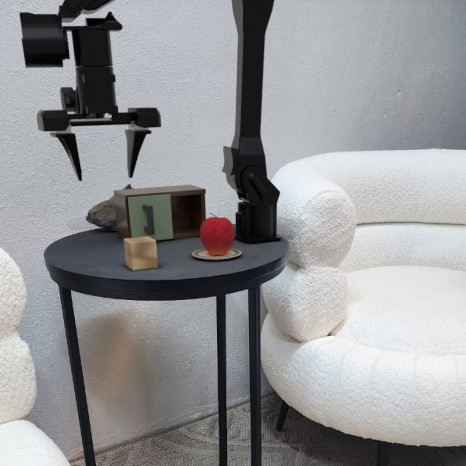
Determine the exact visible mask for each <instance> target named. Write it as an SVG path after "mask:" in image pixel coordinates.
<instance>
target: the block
mask: <svg viewBox="0 0 466 466" xmlns="http://www.w3.org/2000/svg"><path fill="white" fill-rule="evenodd" d="M123 248H124V258H125V259H124V260H125V266H126V267H128V268H129V269H131V270H132V271H141V270H149V269H157V268H159V262H158V261H159V260H158V250H157V249H158V248H157V241H156V240H154V239H152V238H150V237H148V236H146V237H136V238H126V239H124V240H123Z"/></svg>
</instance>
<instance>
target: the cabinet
mask: <svg viewBox="0 0 466 466" xmlns="http://www.w3.org/2000/svg"><path fill="white" fill-rule="evenodd" d="M112 192H113V195H114V201H115V211H116V220H117V230H118V231H117V237H119V238H120V239H121V240H123V241H124V239H126V238H132V237H131V226H130V215H129V204H128V197H138V196H151V195H164V194H170V197H171V213H172V229H173V239H164V240H163V241H168V240H171V241H172V240H180V239H190V238H200V228H201V225H202V223H203V222H204V221H205V220H206V219H207V208H206V206H207V205H206V194H207V190H206V188H204V187H200V186H196V185H193V184H181V185H165V186H152V187H140V188H134V189H125V190H122V189H113V191H112ZM158 241H159V242H161V241H162V240H156V242H158Z"/></svg>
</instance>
